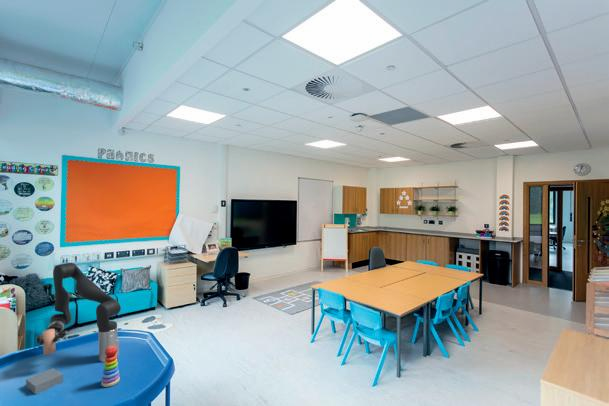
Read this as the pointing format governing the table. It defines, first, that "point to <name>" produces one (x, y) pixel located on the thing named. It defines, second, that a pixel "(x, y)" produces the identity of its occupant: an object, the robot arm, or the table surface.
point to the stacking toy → (110, 368)
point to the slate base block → (44, 381)
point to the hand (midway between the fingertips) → (48, 341)
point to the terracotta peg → (48, 341)
